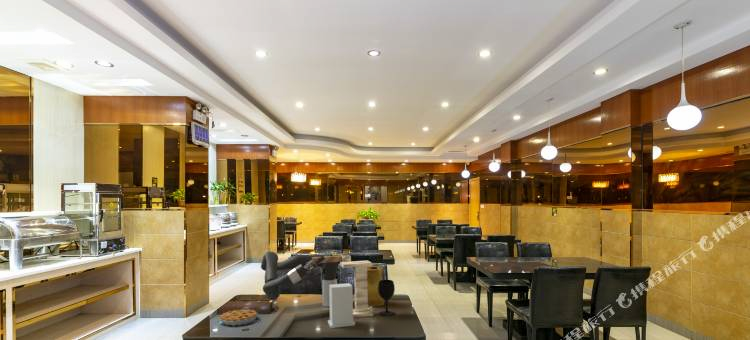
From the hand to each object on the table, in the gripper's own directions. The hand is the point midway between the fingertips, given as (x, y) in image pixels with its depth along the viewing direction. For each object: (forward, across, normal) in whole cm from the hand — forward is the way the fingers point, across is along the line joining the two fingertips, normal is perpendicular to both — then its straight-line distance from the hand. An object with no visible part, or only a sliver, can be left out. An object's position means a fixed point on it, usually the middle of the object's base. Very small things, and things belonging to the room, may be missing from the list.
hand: (323, 257), depth 238 cm
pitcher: (+15, +35, +54) cm, 66 cm away
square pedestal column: (0, +15, +45) cm, 47 cm away
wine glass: (+16, +10, +54) cm, 57 cm away
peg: (+2, 0, +5) cm, 5 cm away
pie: (-61, +27, +11) cm, 67 cm away
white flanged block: (-11, 0, +39) cm, 40 cm away
